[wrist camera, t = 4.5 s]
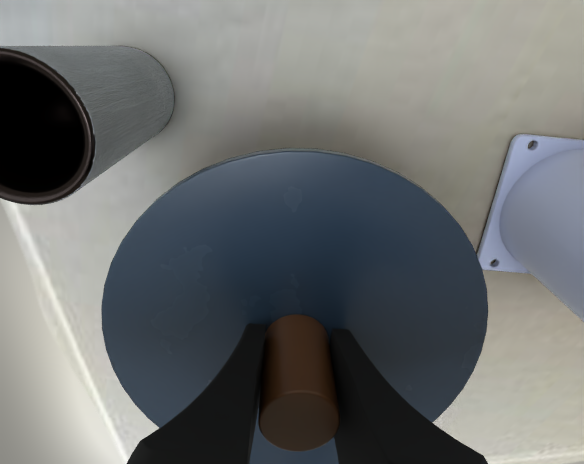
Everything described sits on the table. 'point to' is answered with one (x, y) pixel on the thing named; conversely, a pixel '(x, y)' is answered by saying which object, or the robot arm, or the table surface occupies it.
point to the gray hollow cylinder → (74, 115)
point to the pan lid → (294, 292)
